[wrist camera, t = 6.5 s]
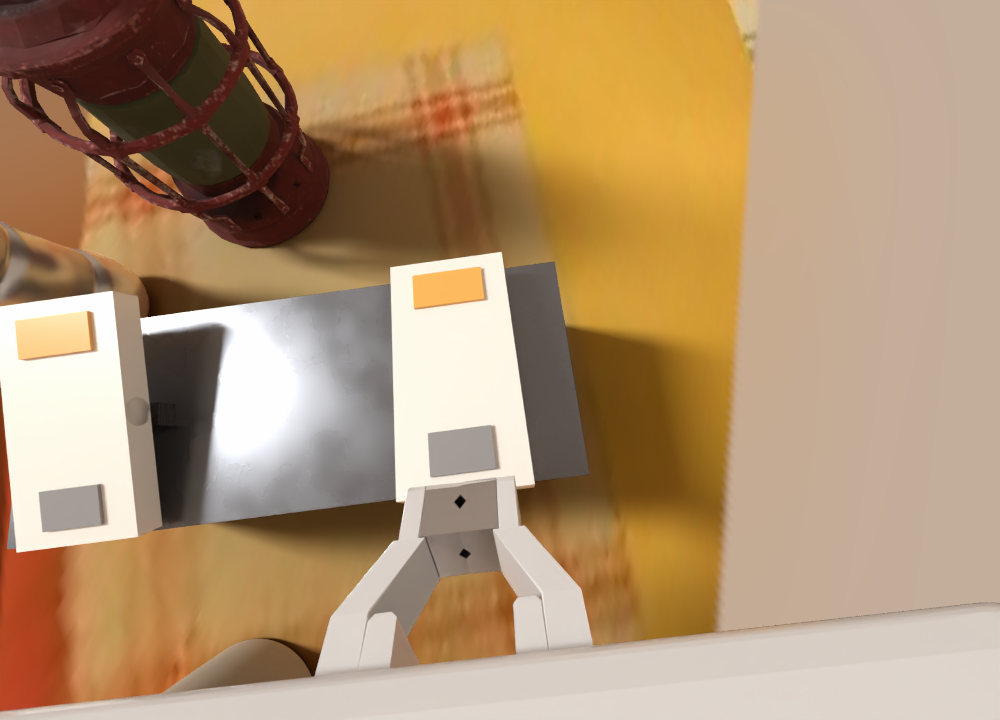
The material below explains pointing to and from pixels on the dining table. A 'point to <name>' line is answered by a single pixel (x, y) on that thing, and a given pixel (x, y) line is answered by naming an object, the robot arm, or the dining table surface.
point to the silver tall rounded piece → (58, 271)
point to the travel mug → (245, 666)
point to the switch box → (320, 400)
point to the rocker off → (77, 421)
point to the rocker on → (456, 376)
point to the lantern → (171, 108)
